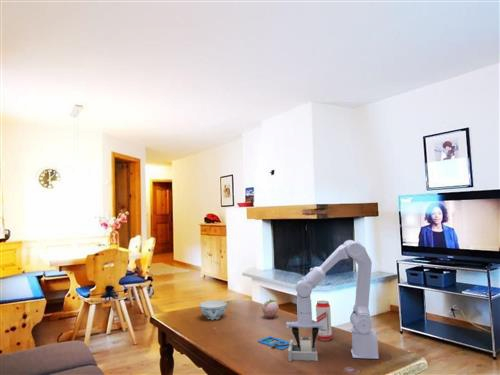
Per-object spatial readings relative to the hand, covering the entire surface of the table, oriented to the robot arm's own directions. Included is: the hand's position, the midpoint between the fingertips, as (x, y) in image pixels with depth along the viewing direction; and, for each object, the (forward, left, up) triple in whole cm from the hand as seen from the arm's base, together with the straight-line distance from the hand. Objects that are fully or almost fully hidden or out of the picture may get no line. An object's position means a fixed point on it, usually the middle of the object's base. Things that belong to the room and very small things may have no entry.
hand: (306, 347), depth 142 cm
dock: (+1, 0, -3) cm, 3 cm away
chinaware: (+52, -48, -3) cm, 71 cm away
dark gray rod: (+10, -8, -3) cm, 13 cm away
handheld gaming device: (+14, -12, -4) cm, 19 cm away
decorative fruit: (+21, -50, -3) cm, 55 cm away
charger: (0, 0, -3) cm, 3 cm away
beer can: (-7, -20, -3) cm, 21 cm away
